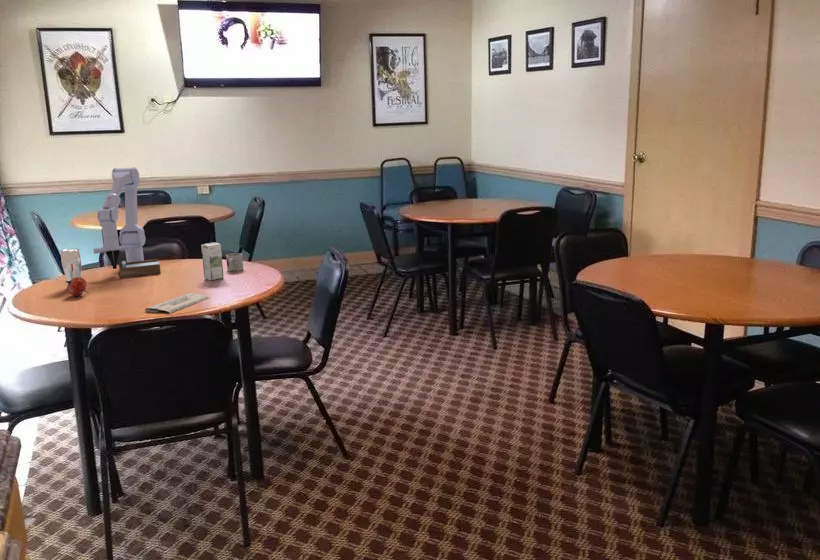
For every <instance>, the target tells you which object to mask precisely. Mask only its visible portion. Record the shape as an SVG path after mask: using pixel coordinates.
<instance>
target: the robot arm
mask: <svg viewBox="0 0 820 560" xmlns="http://www.w3.org/2000/svg"><path fill="white" fill-rule="evenodd" d="M111 178H112V182H113V183H112V187H111V190H110V193H109V194H107V195H106V197H105V200H104V203H103V205H102V207H101V208H100V209H98V211H97V216H96V218H97V220H98V222H99V225H100V227H101V231H102V239H103V247H97V248H93V249H92V250H93V254H102V253H103V254H104V253H105V255H106V257H107V259H108V260H109V261H110V263H111V267H112V269H113V270H117V266H118V265H117V264H118V259H119V256H120V254H121V253H120V252H123V251H124V252H125V257H126V263H127V262H136V261H145V257H144V251H143V249H144V248H143V246H144V245H145V244H146V241H147V239H146V235H145V229H144V228H143V227H142V226H140V225H139V224H138V187H140V173H139V170H138V169H137V168H136V167H135V166H134V167H133V166H131V167H114V168H112V172H111ZM123 190H124V205H125V206H124V207H125V208H124V209H125V211H124V212H125V225H124V226H123V227H122V228H121V229H120V231H119V232H120V233H119V234H118V227H117V221H118V219H119V210H118V209H119V206H120V204H121V197H120V196H121V193H122V191H123Z"/></svg>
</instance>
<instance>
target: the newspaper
mask: <svg viewBox="0 0 820 560" xmlns="http://www.w3.org/2000/svg"><path fill="white" fill-rule="evenodd" d="M209 297H210V296H209V295H204V294H200V293H192V292H191V293H190V292H189V293H185V294H183V295H182V294H181V295H179V296H176V297H174V298H171V299H169V300H165V301H163V302H161V303H157V304H155V305H151V306H147V307H146V308H145V309H144V311H145V312H150V313H159V312H161V311H164V312H168V313H169V314H170V315H171V314H173V313H175V312H178V311H180V310H181V311H182V310H184V309H185V308H188V307H191V306H193V305H196V304H198V303H200V301H201V302H203V300H204V301H206V300H208V299H207V298H209ZM205 299H206V300H205ZM209 299H210V298H209Z"/></svg>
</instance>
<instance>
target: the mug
mask: <svg viewBox="0 0 820 560" xmlns="http://www.w3.org/2000/svg"><path fill="white" fill-rule="evenodd" d="M225 257H226V259H225V260H226V269H227V272H230V271H235V272H240V271H243V270H244V262H243V254H242V253H238V252H234V253H228V254H226V255H225Z"/></svg>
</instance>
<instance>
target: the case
mask: <svg viewBox="0 0 820 560" xmlns="http://www.w3.org/2000/svg"><path fill="white" fill-rule="evenodd" d="M158 260H159V259H157V258H156V259H147V260H145V259H144V261H136V262H127V261H126V265H129V264H138V263H148V262H157V261H158ZM158 262H159V261H158ZM118 268H119V275H120V279H122V278H123V277H125V278H131V276H133V277H141V276H140V275H142V276H149V274H151V275H159V274H158V273H160V274H161V264H160V263H159V264H154V265H145V266H136V267H126V268H122V262H120V263H118ZM123 279H124V278H123Z"/></svg>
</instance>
